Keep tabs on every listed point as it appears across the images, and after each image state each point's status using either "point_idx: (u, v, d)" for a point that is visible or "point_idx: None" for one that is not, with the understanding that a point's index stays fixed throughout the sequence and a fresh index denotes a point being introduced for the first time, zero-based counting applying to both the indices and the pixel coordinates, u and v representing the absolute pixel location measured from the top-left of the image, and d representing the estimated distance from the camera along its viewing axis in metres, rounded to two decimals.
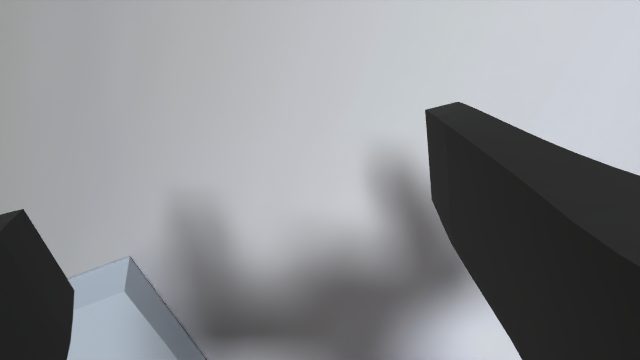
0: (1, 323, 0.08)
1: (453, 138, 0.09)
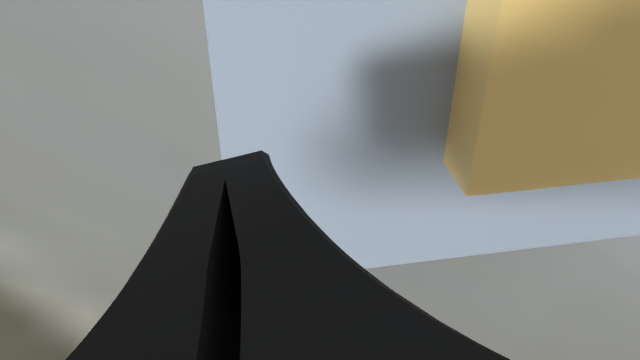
0: (237, 262, 0.08)
1: None
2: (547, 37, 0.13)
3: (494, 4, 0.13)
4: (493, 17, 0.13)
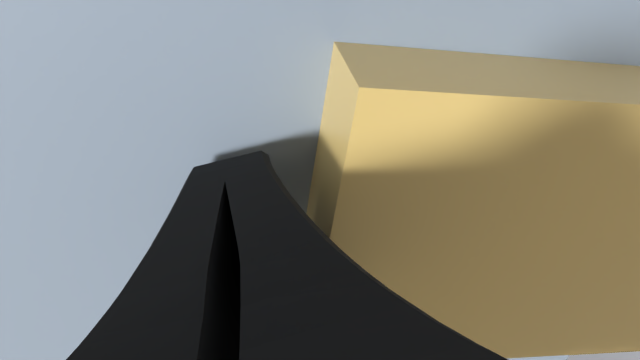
0: (237, 262, 0.08)
1: None
2: (420, 184, 0.09)
3: (344, 130, 0.08)
4: (342, 148, 0.09)
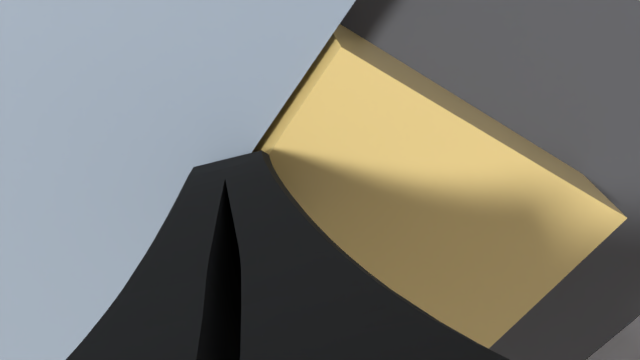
0: (237, 262, 0.08)
1: None
2: (349, 153, 0.10)
3: (309, 81, 0.10)
4: (302, 96, 0.10)
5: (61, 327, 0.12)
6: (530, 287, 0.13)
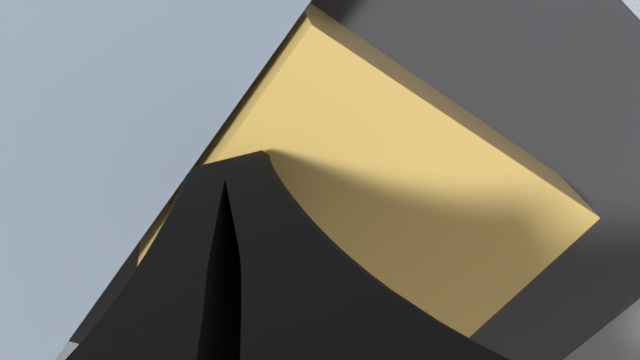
0: (237, 262, 0.08)
1: None
2: (318, 137, 0.10)
3: (279, 61, 0.09)
4: (270, 75, 0.09)
5: (14, 309, 0.11)
6: (501, 285, 0.13)
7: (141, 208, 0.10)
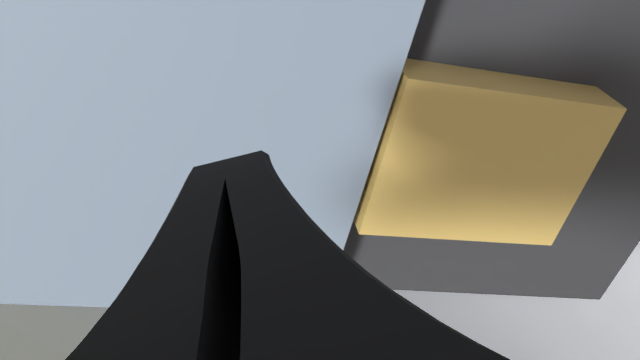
0: (237, 262, 0.08)
1: None
2: (431, 129, 0.18)
3: (397, 99, 0.17)
4: (395, 108, 0.18)
5: None
6: (577, 171, 0.20)
7: (351, 197, 0.19)
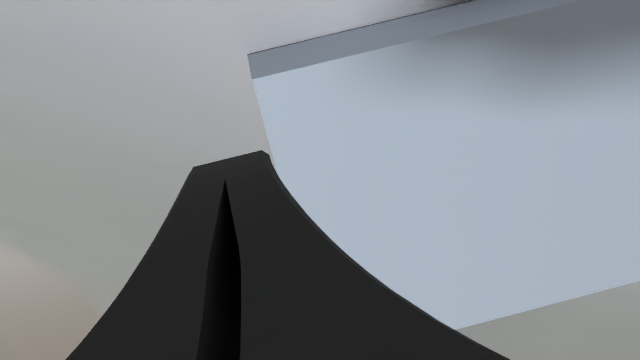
0: (237, 262, 0.08)
1: None
2: None
3: None
4: None
5: (628, 250, 0.24)
6: None
7: None
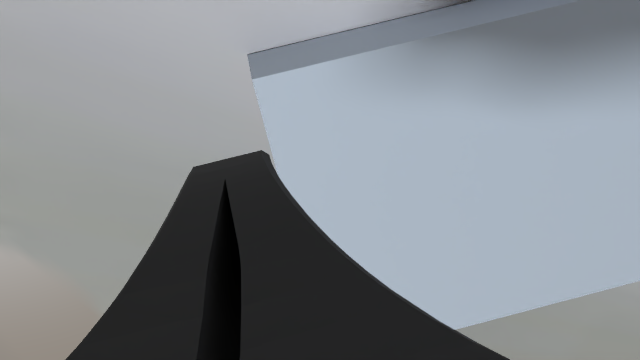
0: (237, 262, 0.08)
1: None
2: None
3: None
4: None
5: (628, 250, 0.24)
6: None
7: None
